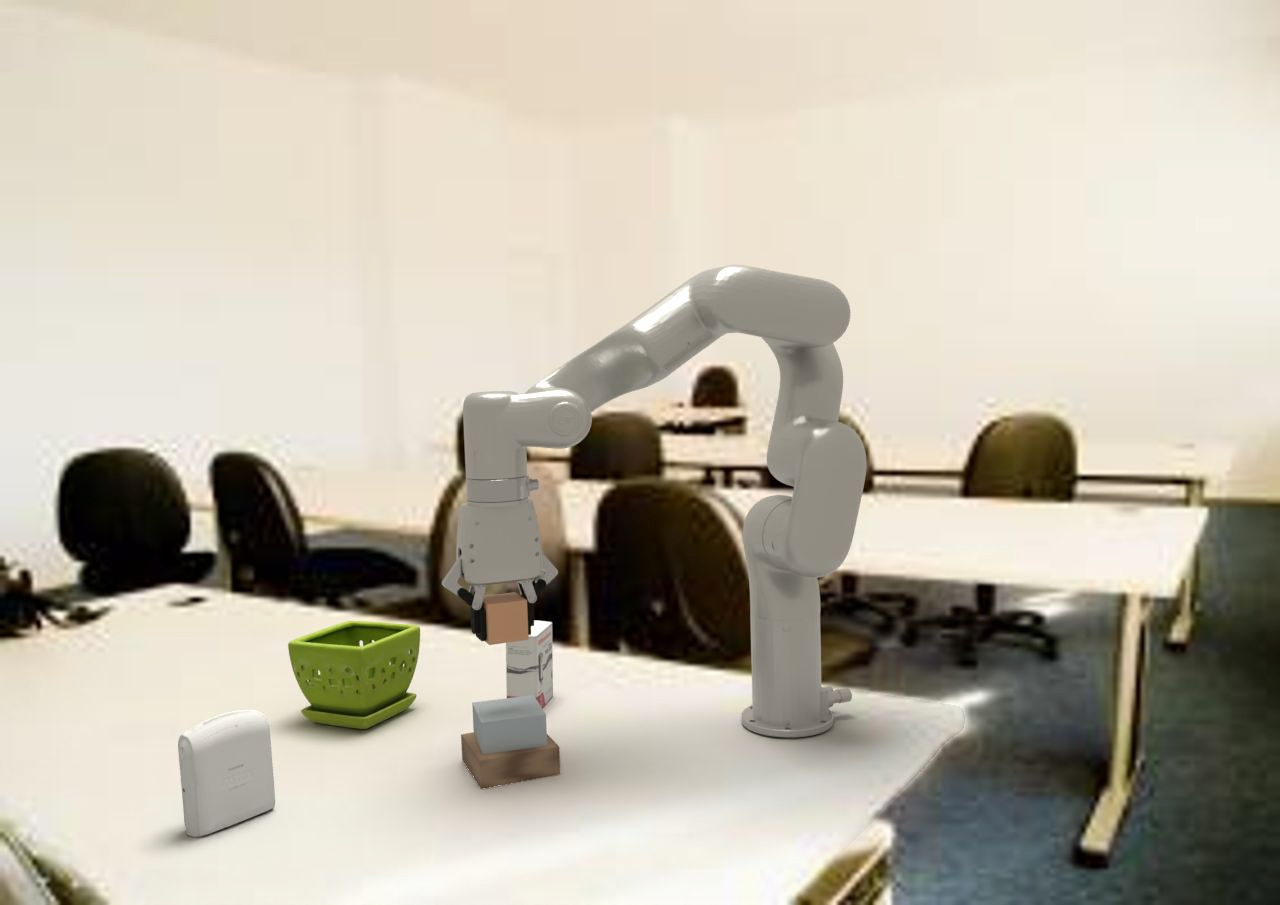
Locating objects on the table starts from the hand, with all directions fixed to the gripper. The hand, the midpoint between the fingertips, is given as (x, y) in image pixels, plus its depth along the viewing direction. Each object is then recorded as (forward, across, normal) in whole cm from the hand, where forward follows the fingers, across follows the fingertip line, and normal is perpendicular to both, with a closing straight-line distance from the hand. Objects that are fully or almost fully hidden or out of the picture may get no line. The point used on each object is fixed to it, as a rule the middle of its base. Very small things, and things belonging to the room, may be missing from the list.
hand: (503, 634), depth 133 cm
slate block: (+14, 0, 0) cm, 14 cm away
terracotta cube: (+1, 0, 0) cm, 1 cm away
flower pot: (+18, +14, -29) cm, 37 cm away
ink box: (+17, -10, -22) cm, 30 cm away
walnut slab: (+18, 0, 0) cm, 18 cm away
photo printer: (+18, +33, 0) cm, 37 cm away
